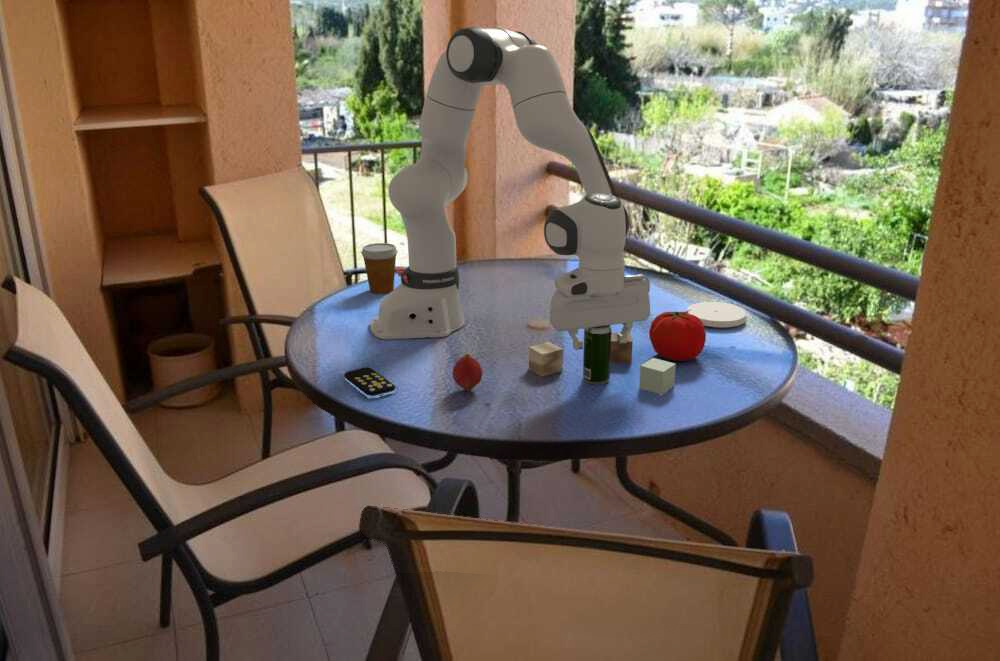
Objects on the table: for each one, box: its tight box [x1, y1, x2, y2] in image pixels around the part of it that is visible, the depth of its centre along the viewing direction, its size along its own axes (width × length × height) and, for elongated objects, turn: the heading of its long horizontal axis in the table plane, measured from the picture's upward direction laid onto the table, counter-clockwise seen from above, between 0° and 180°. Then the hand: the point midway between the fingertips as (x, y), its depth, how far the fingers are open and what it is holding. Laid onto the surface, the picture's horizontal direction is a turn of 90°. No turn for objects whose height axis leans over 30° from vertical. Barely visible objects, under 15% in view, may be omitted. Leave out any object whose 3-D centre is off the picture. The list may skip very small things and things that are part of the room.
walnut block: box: [610, 332, 633, 364], centre depth 179 cm, size 5×5×5 cm
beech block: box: [528, 341, 564, 377], centre depth 174 cm, size 5×5×5 cm
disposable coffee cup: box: [360, 242, 398, 295], centre depth 224 cm, size 10×10×12 cm
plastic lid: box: [685, 301, 748, 328], centre depth 202 cm, size 14×14×2 cm
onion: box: [452, 352, 483, 392], centre depth 164 cm, size 6×6×8 cm
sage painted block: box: [638, 357, 677, 395], centre depth 165 cm, size 5×5×5 cm
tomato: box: [648, 309, 707, 362], centre depth 179 cm, size 12×12×10 cm
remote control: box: [344, 366, 396, 396], centre depth 168 cm, size 6×13×2 cm, turn 34°
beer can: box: [582, 325, 613, 386], centre depth 167 cm, size 5×5×12 cm
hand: (599, 345), depth 167 cm, fingers open, 8 cm apart
